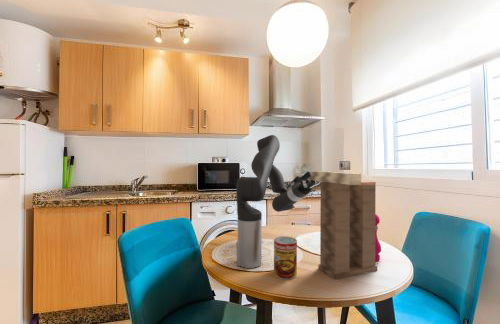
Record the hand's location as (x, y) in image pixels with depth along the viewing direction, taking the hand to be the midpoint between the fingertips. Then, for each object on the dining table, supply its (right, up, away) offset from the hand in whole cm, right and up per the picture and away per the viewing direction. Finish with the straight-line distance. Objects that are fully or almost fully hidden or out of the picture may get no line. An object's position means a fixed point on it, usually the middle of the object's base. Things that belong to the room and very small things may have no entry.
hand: (318, 173), depth 96 cm
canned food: (-14, -35, -10) cm, 39 cm away
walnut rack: (+9, -35, -6) cm, 36 cm away
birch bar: (+3, -3, -6) cm, 7 cm away
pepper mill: (+22, -35, +4) cm, 42 cm away
